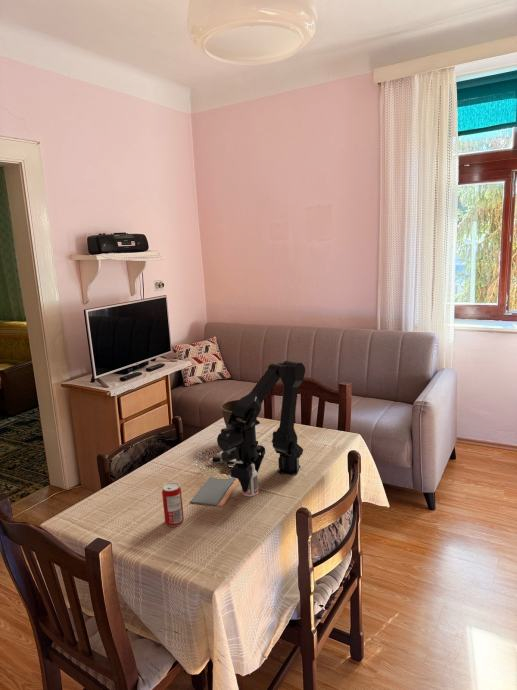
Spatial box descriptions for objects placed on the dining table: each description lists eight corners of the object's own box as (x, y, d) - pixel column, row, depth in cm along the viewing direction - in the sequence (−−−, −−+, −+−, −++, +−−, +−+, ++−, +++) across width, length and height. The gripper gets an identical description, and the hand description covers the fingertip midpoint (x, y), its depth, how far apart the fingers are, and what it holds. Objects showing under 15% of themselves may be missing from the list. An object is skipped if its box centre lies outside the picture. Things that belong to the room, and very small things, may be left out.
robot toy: (207, 467, 182) (238, 475, 173) (205, 456, 182) (236, 463, 172) (228, 455, 192) (259, 461, 183) (227, 444, 191) (257, 450, 182)
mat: (237, 476, 173) (237, 474, 173) (216, 506, 154) (216, 504, 154) (213, 473, 175) (213, 472, 175) (190, 502, 157) (190, 501, 157)
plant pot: (216, 445, 199) (213, 408, 195) (237, 432, 211) (234, 397, 208) (247, 452, 191) (244, 413, 188) (266, 438, 203) (264, 402, 200)
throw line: (243, 476, 172) (243, 475, 172) (222, 506, 153) (222, 505, 153) (239, 476, 172) (239, 474, 172) (219, 506, 154) (218, 504, 154)
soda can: (173, 515, 150) (169, 479, 148) (187, 519, 147) (184, 483, 145) (161, 524, 146) (157, 487, 143) (175, 529, 143) (172, 491, 140)
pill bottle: (254, 487, 164) (252, 460, 162) (261, 494, 160) (259, 466, 158) (239, 491, 162) (237, 464, 160) (246, 498, 157) (244, 470, 155)
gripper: (233, 427, 168) (236, 469, 171) (212, 450, 151) (216, 496, 154) (264, 429, 165) (266, 472, 168) (247, 453, 147) (250, 500, 151)
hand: (249, 484), depth 160 cm, fingers open, 9 cm apart
